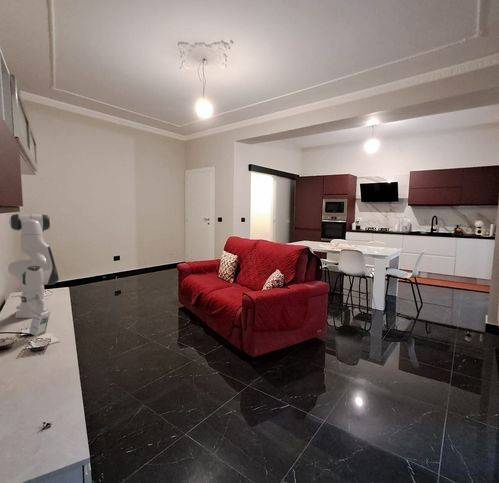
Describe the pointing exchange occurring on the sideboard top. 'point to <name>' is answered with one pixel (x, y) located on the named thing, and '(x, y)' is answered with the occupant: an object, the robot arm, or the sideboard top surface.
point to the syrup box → (39, 323)
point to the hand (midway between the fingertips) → (35, 316)
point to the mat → (48, 335)
